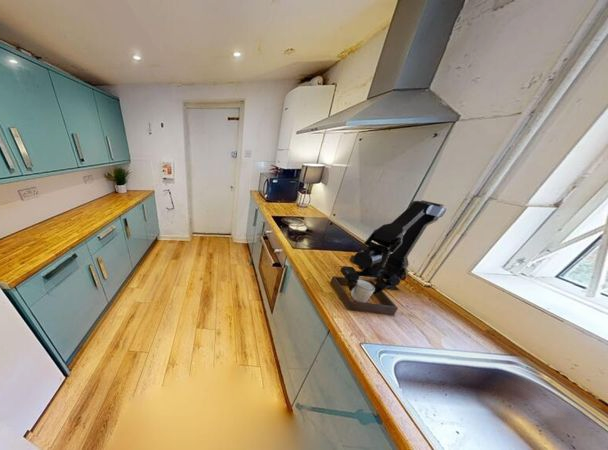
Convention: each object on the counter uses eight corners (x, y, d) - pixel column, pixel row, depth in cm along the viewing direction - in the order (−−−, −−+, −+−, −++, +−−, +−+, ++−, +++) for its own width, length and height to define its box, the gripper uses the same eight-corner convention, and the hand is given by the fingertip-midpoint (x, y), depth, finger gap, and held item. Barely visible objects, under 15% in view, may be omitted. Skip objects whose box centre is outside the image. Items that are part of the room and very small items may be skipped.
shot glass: (372, 305, 79) (379, 292, 76) (353, 302, 80) (359, 289, 77) (363, 293, 85) (369, 280, 82) (346, 290, 86) (351, 277, 83)
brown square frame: (369, 287, 89) (372, 280, 87) (393, 315, 74) (398, 307, 73) (330, 282, 90) (332, 275, 89) (346, 309, 76) (350, 302, 75)
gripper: (388, 251, 81) (374, 281, 87) (340, 247, 83) (329, 276, 90) (409, 267, 71) (391, 300, 77) (354, 262, 73) (341, 294, 79)
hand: (361, 291), depth 81 cm, fingers open, 9 cm apart
